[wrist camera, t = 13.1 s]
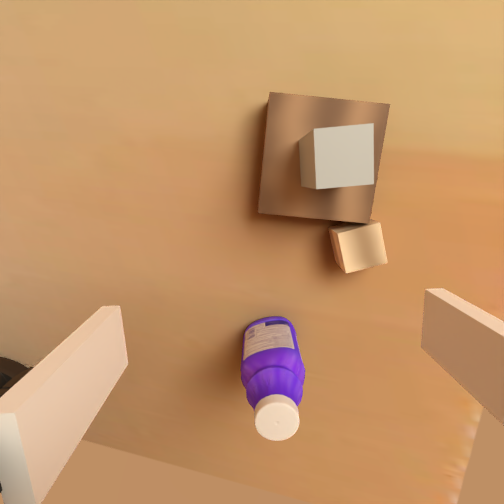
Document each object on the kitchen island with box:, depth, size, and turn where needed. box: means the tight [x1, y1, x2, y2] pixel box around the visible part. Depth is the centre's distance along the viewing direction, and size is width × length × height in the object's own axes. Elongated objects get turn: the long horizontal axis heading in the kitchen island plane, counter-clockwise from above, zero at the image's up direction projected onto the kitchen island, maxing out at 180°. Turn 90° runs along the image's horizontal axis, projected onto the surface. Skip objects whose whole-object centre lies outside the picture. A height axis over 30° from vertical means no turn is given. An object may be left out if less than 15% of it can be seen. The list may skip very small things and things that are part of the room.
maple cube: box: [328, 219, 387, 274], centre depth 41 cm, size 5×5×5 cm
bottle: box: [241, 316, 305, 441], centre depth 38 cm, size 7×6×17 cm
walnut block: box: [258, 92, 390, 223], centre depth 39 cm, size 13×13×5 cm
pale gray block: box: [299, 123, 374, 189], centre depth 33 cm, size 5×5×9 cm
